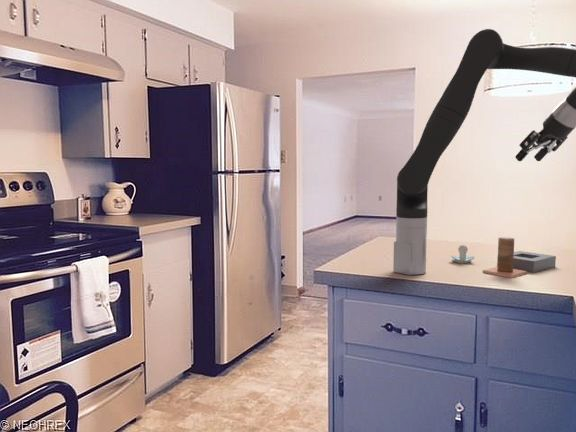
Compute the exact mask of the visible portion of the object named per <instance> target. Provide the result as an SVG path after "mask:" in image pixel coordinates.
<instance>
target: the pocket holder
mask: <svg viewBox="0 0 576 432" xmlns="http://www.w3.org/2000/svg"><path fill="white" fill-rule="evenodd" d="M556 257H557V256H556V255H551V254H545V253H536V252H529V251H524V250H523V251H522V250H518V251H514V260H513V269H517V270H523V271H527V272H530V273H536V272H537V271H538V272H541V271H545V270H548V269H551V268H554V267H556V259H557V258H556ZM496 262H497V263H496V266H497V265H498V258H497V261H496ZM544 269H545V270H544ZM540 270H541V271H540ZM538 272H537V273H538Z"/></svg>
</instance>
